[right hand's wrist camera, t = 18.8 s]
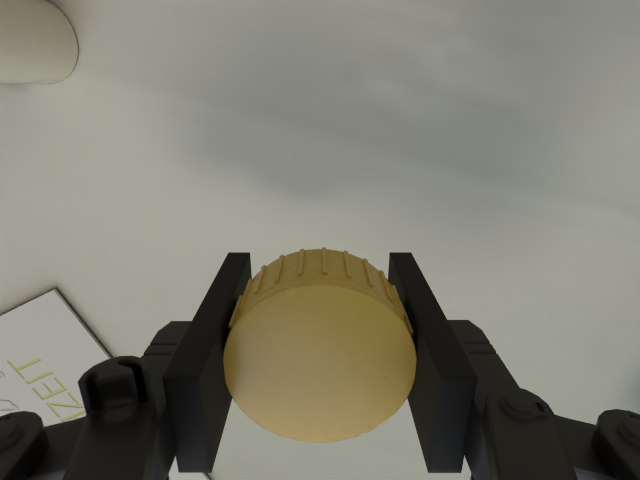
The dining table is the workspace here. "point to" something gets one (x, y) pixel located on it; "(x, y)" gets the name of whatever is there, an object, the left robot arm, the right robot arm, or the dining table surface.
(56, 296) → the invitation card
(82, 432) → the right robot arm
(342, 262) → the lid
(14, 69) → the white cylinder
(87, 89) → the dining table surface
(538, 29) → the dining table surface
